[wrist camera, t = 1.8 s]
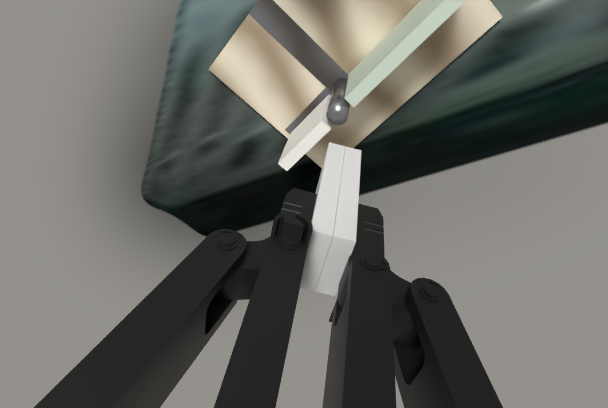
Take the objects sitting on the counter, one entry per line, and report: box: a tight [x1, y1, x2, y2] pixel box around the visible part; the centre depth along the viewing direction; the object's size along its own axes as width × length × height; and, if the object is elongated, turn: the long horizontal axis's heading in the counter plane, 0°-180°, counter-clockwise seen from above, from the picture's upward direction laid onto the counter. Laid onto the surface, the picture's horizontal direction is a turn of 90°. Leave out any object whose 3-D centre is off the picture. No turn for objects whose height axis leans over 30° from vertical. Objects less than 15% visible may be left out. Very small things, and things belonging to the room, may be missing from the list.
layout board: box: [209, 0, 502, 168], centre depth 40 cm, size 24×18×1 cm
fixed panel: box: [278, 94, 332, 171], centre depth 41 cm, size 6×1×8 cm, turn 138°
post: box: [326, 78, 350, 125], centre depth 39 cm, size 2×2×8 cm
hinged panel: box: [344, 0, 467, 107], centre depth 35 cm, size 13×1×8 cm, turn 138°
